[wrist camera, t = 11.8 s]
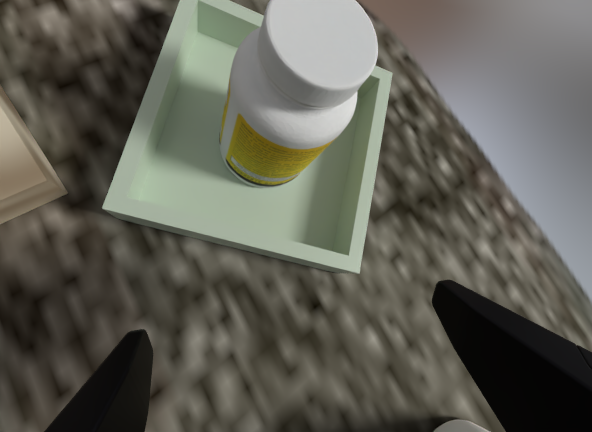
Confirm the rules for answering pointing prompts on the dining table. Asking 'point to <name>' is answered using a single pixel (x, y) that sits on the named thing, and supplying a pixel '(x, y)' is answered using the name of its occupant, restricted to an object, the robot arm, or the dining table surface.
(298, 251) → the tray
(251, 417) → the dining table surface
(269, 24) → the supplement bottle
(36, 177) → the socket block
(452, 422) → the can
